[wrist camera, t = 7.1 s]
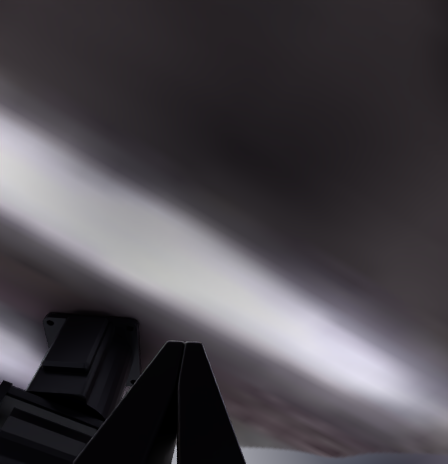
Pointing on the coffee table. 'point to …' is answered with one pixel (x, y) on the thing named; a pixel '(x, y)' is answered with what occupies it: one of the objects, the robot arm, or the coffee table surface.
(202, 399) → the robot arm
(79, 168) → the coffee table surface
